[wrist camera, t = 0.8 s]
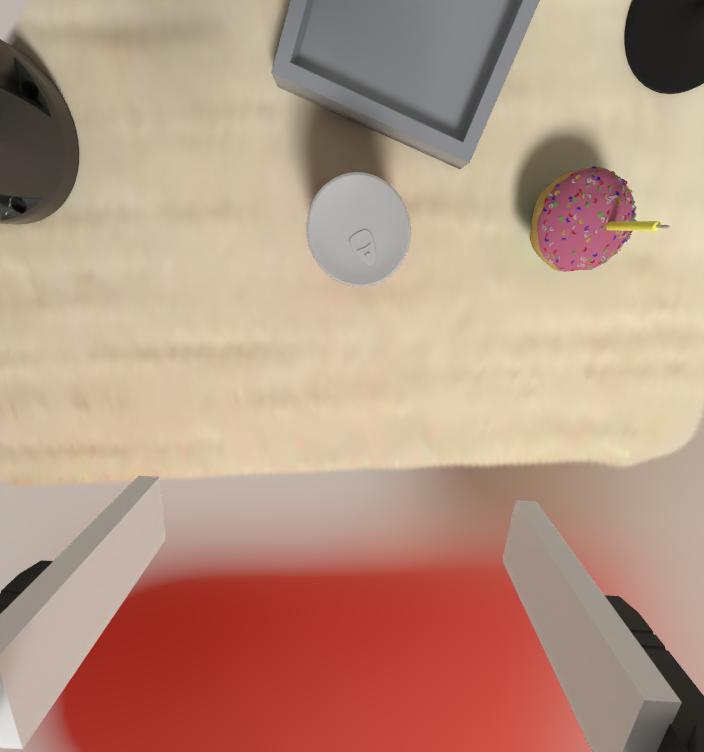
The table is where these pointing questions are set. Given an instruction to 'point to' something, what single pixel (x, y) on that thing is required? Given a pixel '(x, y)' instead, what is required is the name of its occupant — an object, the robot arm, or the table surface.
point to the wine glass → (666, 44)
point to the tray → (405, 65)
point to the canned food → (358, 229)
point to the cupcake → (584, 219)
